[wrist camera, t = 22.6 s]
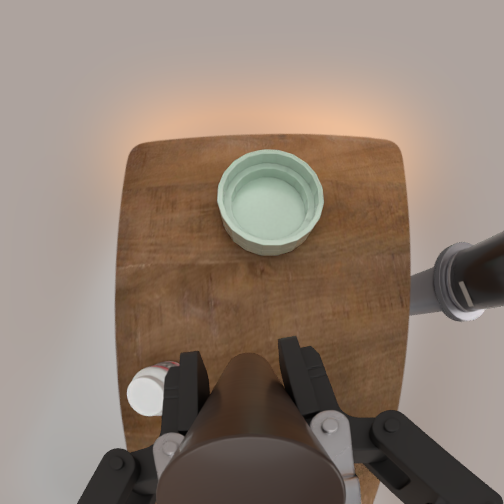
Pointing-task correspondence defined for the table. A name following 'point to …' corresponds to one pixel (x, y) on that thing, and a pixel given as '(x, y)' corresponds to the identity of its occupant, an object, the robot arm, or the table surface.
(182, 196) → the table surface
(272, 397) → the dark cylinder
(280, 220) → the bowl
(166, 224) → the table surface
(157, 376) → the pill bottle
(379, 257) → the table surface
